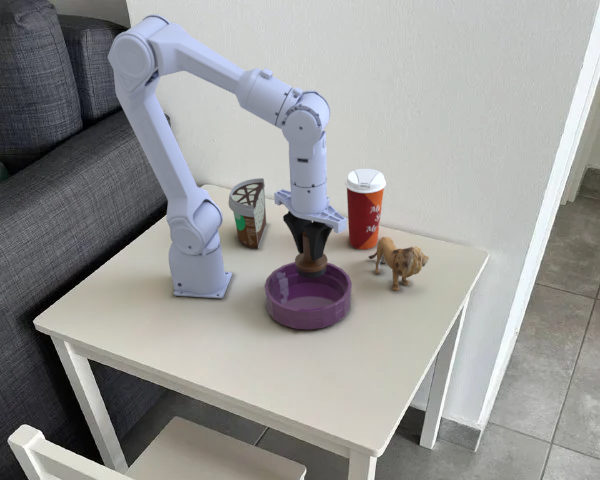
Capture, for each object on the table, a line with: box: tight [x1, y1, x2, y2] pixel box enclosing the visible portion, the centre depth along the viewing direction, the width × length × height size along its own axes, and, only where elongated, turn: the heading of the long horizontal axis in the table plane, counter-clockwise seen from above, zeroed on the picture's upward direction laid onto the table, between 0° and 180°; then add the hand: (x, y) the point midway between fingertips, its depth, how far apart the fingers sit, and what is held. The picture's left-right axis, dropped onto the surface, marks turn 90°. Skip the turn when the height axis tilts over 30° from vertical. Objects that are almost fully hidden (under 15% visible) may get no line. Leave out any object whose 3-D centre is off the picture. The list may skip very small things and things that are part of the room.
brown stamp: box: [294, 231, 328, 278], centre depth 106 cm, size 6×6×7 cm
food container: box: [228, 177, 267, 250], centre depth 126 cm, size 12×6×10 cm, turn 172°
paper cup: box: [344, 168, 387, 250], centre depth 122 cm, size 8×8×14 cm
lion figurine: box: [368, 236, 430, 292], centre depth 115 cm, size 15×5×9 cm, turn 33°
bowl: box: [264, 261, 353, 331], centre depth 111 cm, size 15×15×4 cm
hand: (310, 254), depth 107 cm, fingers closed on brown stamp, 2 cm apart
